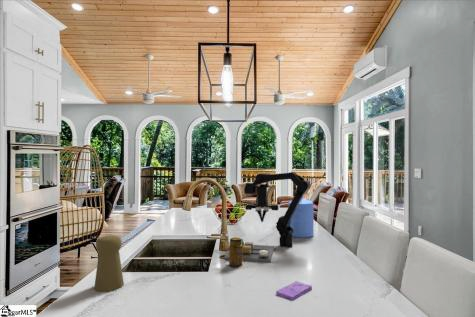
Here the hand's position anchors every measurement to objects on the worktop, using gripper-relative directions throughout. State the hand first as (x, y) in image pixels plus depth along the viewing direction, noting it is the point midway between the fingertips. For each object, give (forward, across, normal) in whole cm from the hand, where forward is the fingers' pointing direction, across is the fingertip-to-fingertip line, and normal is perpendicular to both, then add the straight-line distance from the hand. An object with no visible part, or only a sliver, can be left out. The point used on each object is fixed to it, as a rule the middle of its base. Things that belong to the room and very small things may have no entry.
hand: (262, 221), depth 180 cm
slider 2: (+10, +4, +27) cm, 29 cm away
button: (+9, -4, +32) cm, 34 cm away
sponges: (+13, -20, +65) cm, 69 cm away
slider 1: (+10, +4, +20) cm, 23 cm away
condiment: (+12, +7, +41) cm, 43 cm away
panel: (+12, +3, +23) cm, 26 cm away
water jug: (+12, -22, -22) cm, 33 cm away
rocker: (+9, +11, +16) cm, 21 cm away
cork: (+12, +50, +73) cm, 89 cm away
